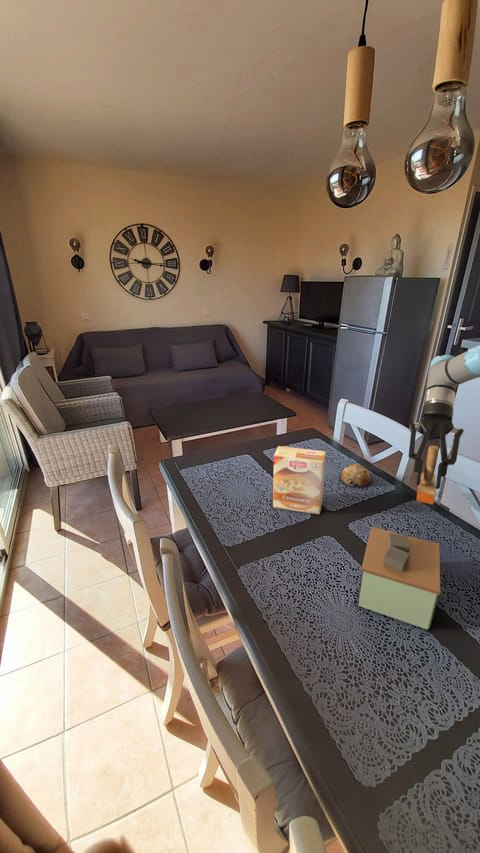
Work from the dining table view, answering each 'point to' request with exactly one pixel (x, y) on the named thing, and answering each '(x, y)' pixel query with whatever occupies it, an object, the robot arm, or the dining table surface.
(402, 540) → the block
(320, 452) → the coffeecake box
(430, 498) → the brush
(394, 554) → the dust pad
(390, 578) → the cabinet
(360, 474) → the bread roll
